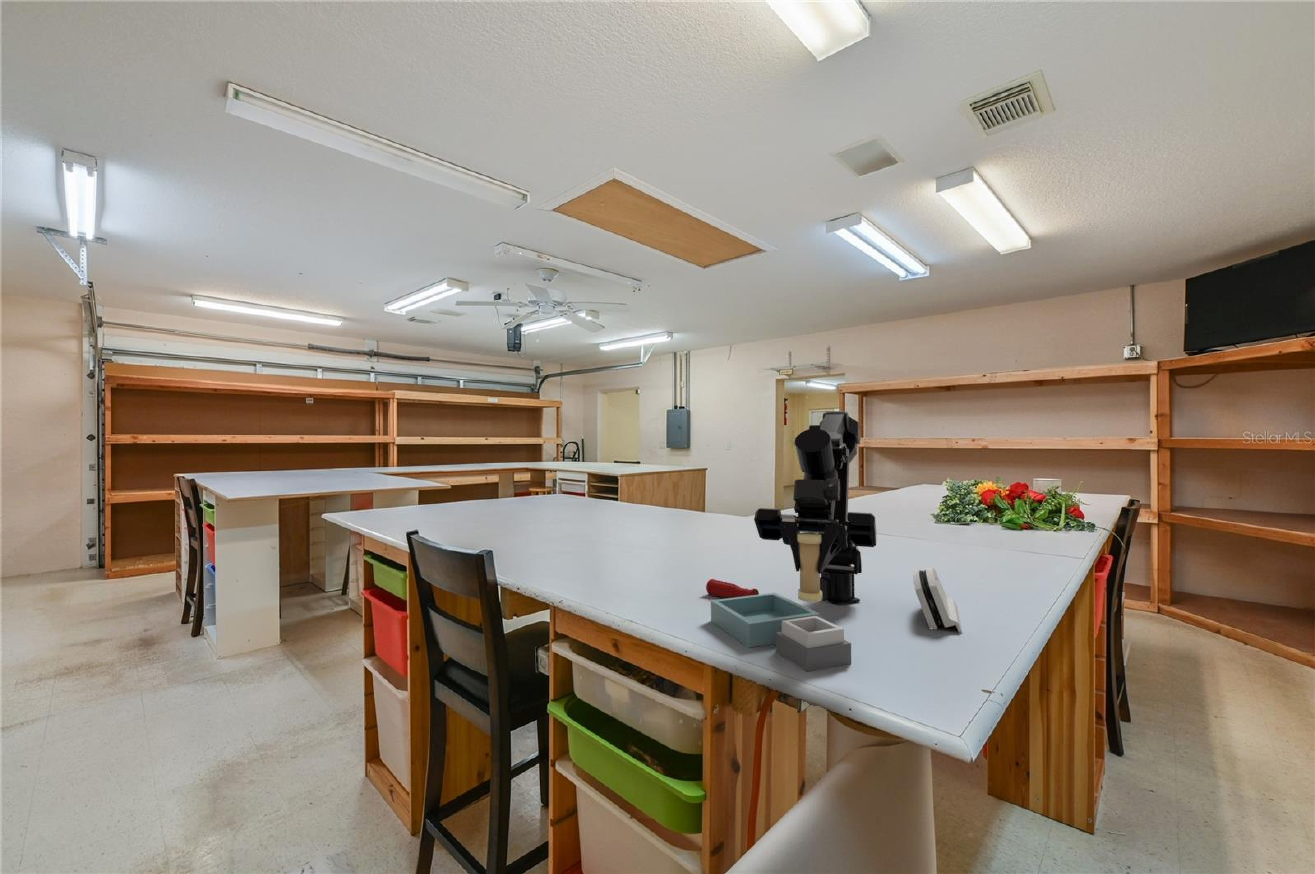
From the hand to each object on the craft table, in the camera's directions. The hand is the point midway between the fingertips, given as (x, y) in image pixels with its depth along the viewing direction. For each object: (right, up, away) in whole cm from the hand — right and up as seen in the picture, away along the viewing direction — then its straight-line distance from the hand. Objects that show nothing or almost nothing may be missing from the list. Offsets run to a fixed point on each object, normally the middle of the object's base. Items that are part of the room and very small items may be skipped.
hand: (808, 571), depth 80 cm
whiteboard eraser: (+30, -14, +20) cm, 39 cm away
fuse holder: (+1, -14, +1) cm, 14 cm away
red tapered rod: (-2, -14, +27) cm, 31 cm away
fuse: (+1, -5, +1) cm, 5 cm away
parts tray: (-4, -14, +14) cm, 20 cm away
